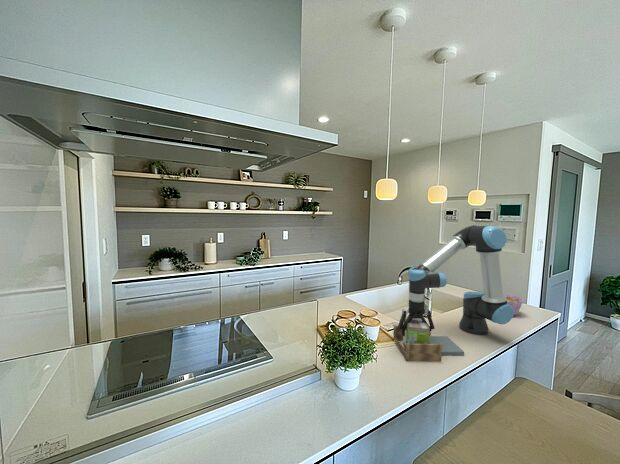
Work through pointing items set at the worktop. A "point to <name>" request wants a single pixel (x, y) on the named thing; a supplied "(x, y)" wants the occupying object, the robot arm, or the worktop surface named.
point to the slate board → (447, 346)
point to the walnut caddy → (417, 349)
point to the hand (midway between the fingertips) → (415, 341)
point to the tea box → (417, 332)
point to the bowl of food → (514, 302)
